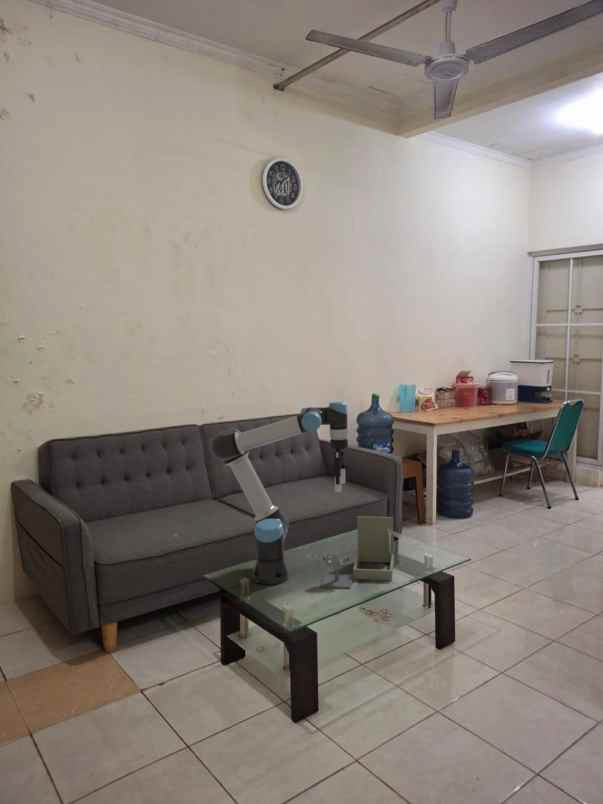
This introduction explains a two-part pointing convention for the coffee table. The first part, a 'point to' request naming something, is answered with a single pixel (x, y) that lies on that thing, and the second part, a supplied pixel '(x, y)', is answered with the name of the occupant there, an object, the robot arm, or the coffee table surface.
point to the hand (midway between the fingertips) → (340, 487)
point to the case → (374, 546)
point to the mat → (330, 582)
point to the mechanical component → (335, 563)
